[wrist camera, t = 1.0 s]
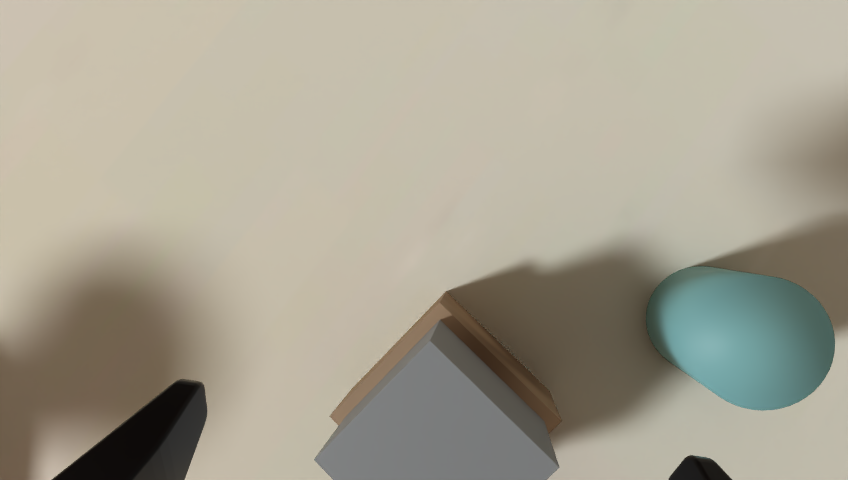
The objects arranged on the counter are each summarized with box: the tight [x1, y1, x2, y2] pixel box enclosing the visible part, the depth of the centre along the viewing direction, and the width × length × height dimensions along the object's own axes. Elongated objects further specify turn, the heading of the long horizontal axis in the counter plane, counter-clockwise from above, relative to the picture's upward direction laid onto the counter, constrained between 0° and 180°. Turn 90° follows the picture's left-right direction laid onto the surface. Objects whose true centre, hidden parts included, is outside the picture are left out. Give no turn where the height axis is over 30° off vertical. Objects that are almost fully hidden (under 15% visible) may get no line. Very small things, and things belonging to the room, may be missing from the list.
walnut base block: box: [330, 292, 562, 434], centre depth 23 cm, size 7×7×4 cm
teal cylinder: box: [646, 266, 835, 410], centre depth 21 cm, size 5×5×5 cm
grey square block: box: [314, 320, 559, 480], centre depth 19 cm, size 6×6×4 cm
